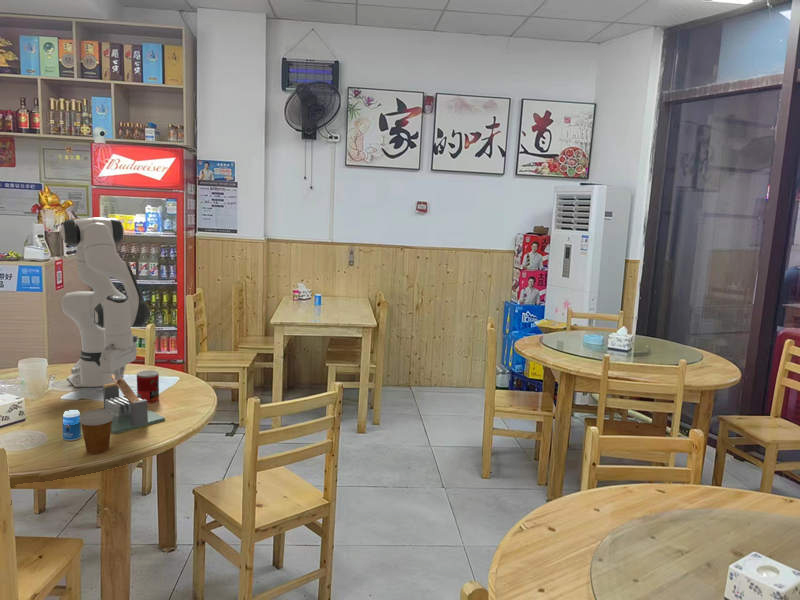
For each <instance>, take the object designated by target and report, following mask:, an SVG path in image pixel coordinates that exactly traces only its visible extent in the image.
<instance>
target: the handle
mask: <svg viewBox="0 0 800 600" xmlns="http://www.w3.org/2000/svg"><path fill="white" fill-rule="evenodd" d="M111 378H112V380H113V381H114V382H115V383H116V385H117V386H118V387H119V391H120V392H121V393H122V394H123V395H125V397H126V398H127V399H128V401H129V402H130V403H131V402H135V401H139V399H138V397H137V394H136V393H135V392H134V390H132V387H130V385H129V384H128V383H127V381H125V379H124V377H123V378H122V379H120V380H115V375H112V376H111Z"/></svg>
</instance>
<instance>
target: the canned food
mask: <svg viewBox="0 0 800 600" xmlns="http://www.w3.org/2000/svg"><path fill="white" fill-rule="evenodd" d="M159 376H160V375H159V372H158V371H156V370H142V371H139V372H136V389H137V392H136V396H137V397H138V398H140V399H142V400H144V399H145V400H147V404H151V403H152V404H153V403H156V402H158V401H159V398H160V389H159V388H160V382H159V379H160V377H159Z"/></svg>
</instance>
